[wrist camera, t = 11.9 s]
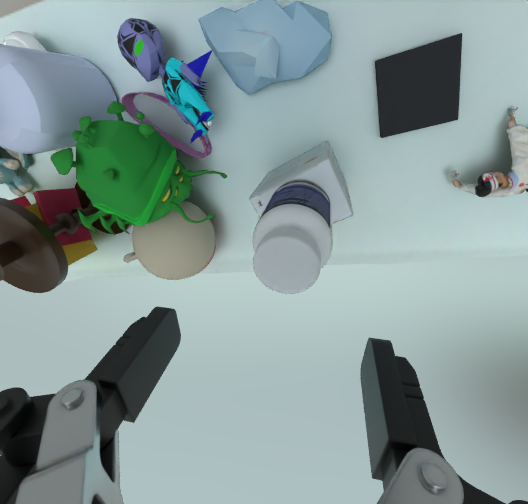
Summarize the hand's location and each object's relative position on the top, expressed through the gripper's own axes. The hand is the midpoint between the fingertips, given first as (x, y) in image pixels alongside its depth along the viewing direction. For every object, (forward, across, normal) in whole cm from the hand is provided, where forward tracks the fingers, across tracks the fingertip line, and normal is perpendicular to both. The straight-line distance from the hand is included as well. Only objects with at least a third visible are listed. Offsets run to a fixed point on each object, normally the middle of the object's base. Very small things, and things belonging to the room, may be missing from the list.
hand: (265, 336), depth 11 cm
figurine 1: (+21, +9, -6) cm, 24 cm away
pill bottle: (+15, 0, 0) cm, 15 cm away
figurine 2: (+20, +16, +2) cm, 26 cm away
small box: (+26, 0, 0) cm, 26 cm away
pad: (+26, -10, -9) cm, 29 cm away
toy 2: (+17, +16, +4) cm, 24 cm away
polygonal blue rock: (+26, +5, -12) cm, 29 cm away
